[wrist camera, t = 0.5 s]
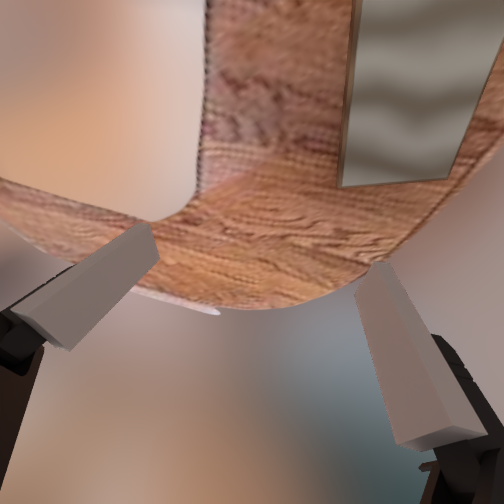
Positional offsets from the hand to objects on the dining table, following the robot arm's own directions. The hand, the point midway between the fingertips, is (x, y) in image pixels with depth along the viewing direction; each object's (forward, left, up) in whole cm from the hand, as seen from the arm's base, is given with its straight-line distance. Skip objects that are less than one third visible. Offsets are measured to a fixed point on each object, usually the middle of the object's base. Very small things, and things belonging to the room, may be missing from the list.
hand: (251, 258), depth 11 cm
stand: (-6, +15, -26) cm, 31 cm away
